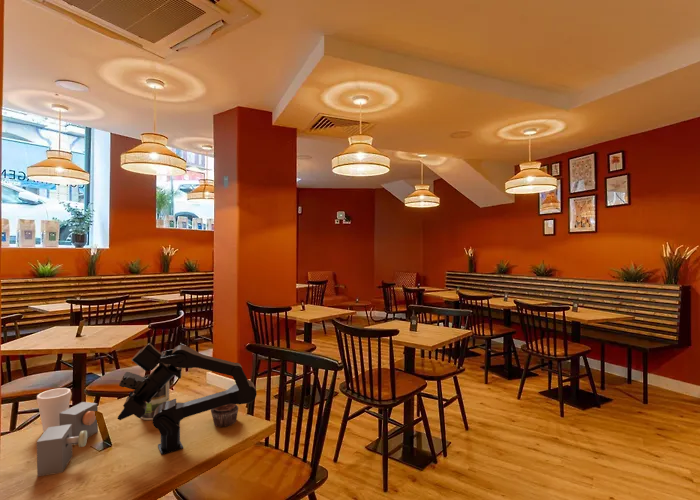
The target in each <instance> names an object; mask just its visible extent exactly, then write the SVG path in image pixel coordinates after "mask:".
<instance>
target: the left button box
mask: <svg viewBox="0 0 700 500" xmlns="http://www.w3.org/2000/svg"><path fill="white" fill-rule="evenodd" d="M68 437H72V424H69V425H61V426H54V427H48V428H47V430H46V431H45V432H43V434H41V436H40V437H39V438H38V439H37V441H36V464H37V465H36V466H37V467H36V471H37V474H36V475H37V477H43V476H48V475H54V474H55V475H56V474H61V473H63V472H64V470H66V467H67V466H68V464H69V462H70V461H71V460H72V458H73V445H72V443H71V444H66V441H65V438H68Z"/></svg>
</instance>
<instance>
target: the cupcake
mask: <svg viewBox="0 0 700 500" xmlns="http://www.w3.org/2000/svg"><path fill="white" fill-rule="evenodd" d="M238 412H239V406H238V404H228V405H224V406H221V407H218V408H214V409H211V410H210V413H211V417H212V421H213V424H214V426H215V427H217V428H226V427H230V426H233V425H235V423H236V422H237V418H238ZM232 424H233V425H232Z"/></svg>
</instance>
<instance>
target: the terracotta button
mask: <svg viewBox="0 0 700 500" xmlns="http://www.w3.org/2000/svg"><path fill="white" fill-rule="evenodd" d="M95 419H96V416H95V411H87V412H86V413H85V414H84V415H83V419H82V422H83V424H84V425H91V424H92V423H93V422H94V421H95Z"/></svg>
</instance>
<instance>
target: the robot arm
mask: <svg viewBox="0 0 700 500" xmlns="http://www.w3.org/2000/svg"><path fill="white" fill-rule="evenodd" d="M131 362H133V363H134V364H136V365H137V366H138V367H140V368H141V369H142V370H144V371H145V372H149V371H151V373H150V374H145V375H144V376H145V377H144V376H142V375H140V374H137V373H133V372H130V371H125V372H124V374H123V376H122V378H121V380H120V382H119V384H118V386H119V387H121V388H127V389H130V390H133V391H130V392H129V393H128V396H127V397H126V399H125V401H124V403H123V404H122V406H123V409H122V410H121V412H120V413H119V414H118V416H117V420H118V421H121V420H124V419H126V418H129V417H130V416H135V417H136V418H137V419H141V417H142V416H143V415H144V414H145V412H146V409H147V404H146V402H147V403H149V402H150V401H151V400H152V398H153V397H154V396H155V395H156V394H157V393H159V392H160V391H161V389H162V387H163V386H164V385H165V384H166V383H167V382H168V381H169V382H170V380H172V379H173V377H176V378H178V379H181V378H182V369H194V368H195V369H201V370H205V371H206V370H207V371H209V372H215V373H218V374H222V375H226V376H229V377H230V376H231V377H232V378H233V380H234V382H235V384H233V385H232V386H231V387H230V388H228V389H226V390H222V391H219V392H216V393H212V394H209V395H206V396H202V397H198V398H196V399H193V400H189V401H185V402H177V398H173V399H171V400H170V399H169V401H167V402H163V404H161V405H159V406H158V407H157V408H156V410H155V412H154V417H153V420H152V425H153V427H154V428H155V429H157V430H158V432H159V435H160V443H158V444H157V448H158V450H159V451H160V455H165V454H169V453H173V452H176V451H179V450H182V449H184V445H183V444H182V441H181V421H183V420H184V419H185V418H188V417H191V416H194V415H198V414H201V413H204V412H208V411H211V409H214V408H218V407H221V406H224V405H228V404H236V405H246V404H250V403H253V402H254V401H255V399H256V397H257V389H256V387H255V385H254V382H253V381H251V380H250V379H248V377H247V375H246V373H245V372H244V370H243V366H242V365H241V363H239V362H235V361H234V362H233V361H229V360H226V359H222V358H217V357H213V356H209V355H206V354H202V353H200V352H198V351H197V350H195V349H194V348H191V347H189V346H187V345H184V344H178V345H176V346H175V347H174V348H173V349H168V350H165V351H161V352H160V350H158V349H157V348H155V346H154V345H153V344H151V343H150V342H149V343H147V344H146V345H145V346H144V347H142V348H141V349H140V350H138V351H137V352H136V354H134V356H133V357H132V358H131ZM145 401H146V402H145Z"/></svg>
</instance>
